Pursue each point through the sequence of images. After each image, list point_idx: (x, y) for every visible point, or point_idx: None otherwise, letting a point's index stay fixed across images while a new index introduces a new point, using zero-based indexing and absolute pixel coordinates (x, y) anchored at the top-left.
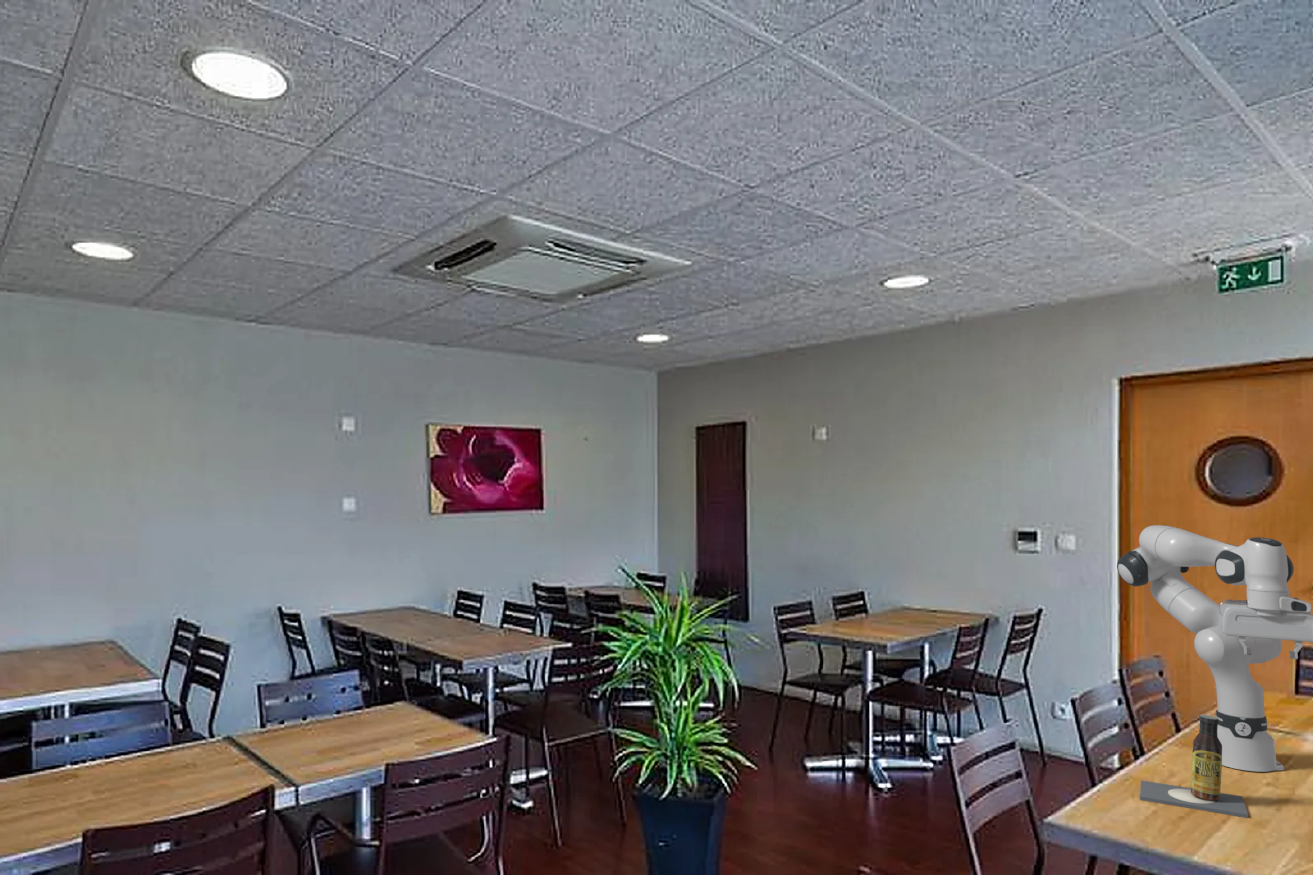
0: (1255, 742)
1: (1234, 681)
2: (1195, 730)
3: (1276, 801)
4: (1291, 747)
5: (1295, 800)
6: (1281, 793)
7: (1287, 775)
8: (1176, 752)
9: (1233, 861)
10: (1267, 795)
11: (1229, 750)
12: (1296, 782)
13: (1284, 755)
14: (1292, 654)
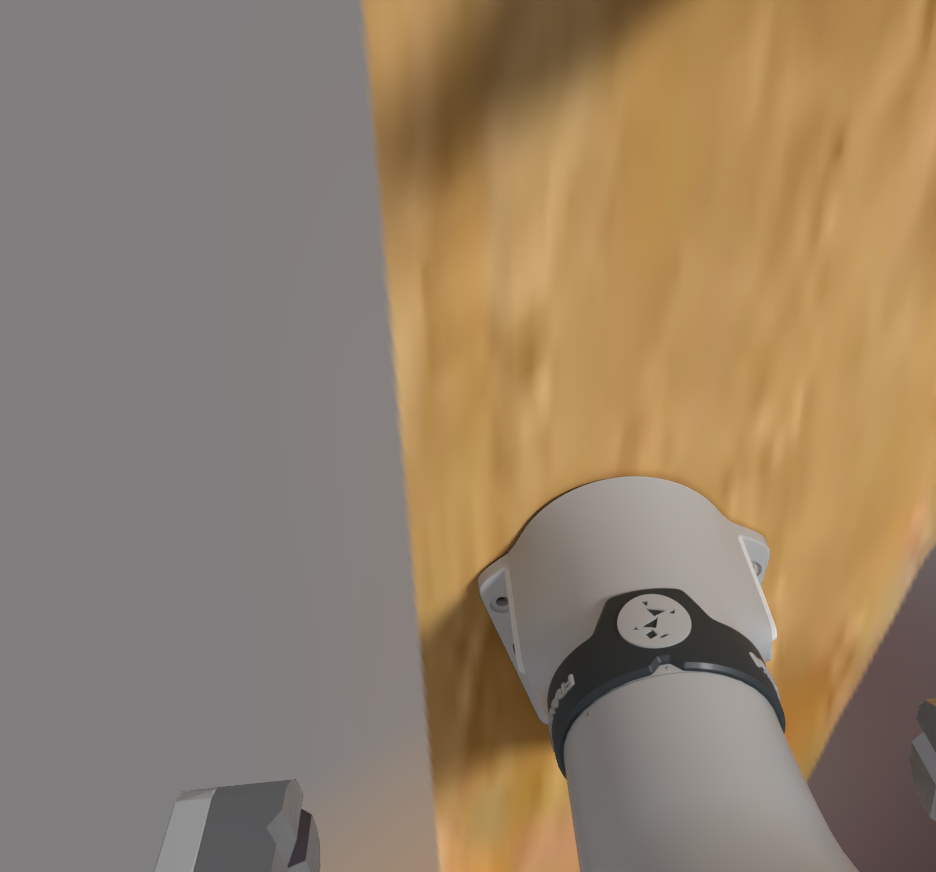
0: (590, 594)
1: (768, 857)
2: None
3: (483, 77)
4: (471, 838)
5: (409, 166)
6: (470, 242)
7: (464, 527)
8: (862, 566)
9: None
10: (524, 158)
11: (687, 541)
12: (427, 455)
13: (486, 750)
14: (240, 849)
